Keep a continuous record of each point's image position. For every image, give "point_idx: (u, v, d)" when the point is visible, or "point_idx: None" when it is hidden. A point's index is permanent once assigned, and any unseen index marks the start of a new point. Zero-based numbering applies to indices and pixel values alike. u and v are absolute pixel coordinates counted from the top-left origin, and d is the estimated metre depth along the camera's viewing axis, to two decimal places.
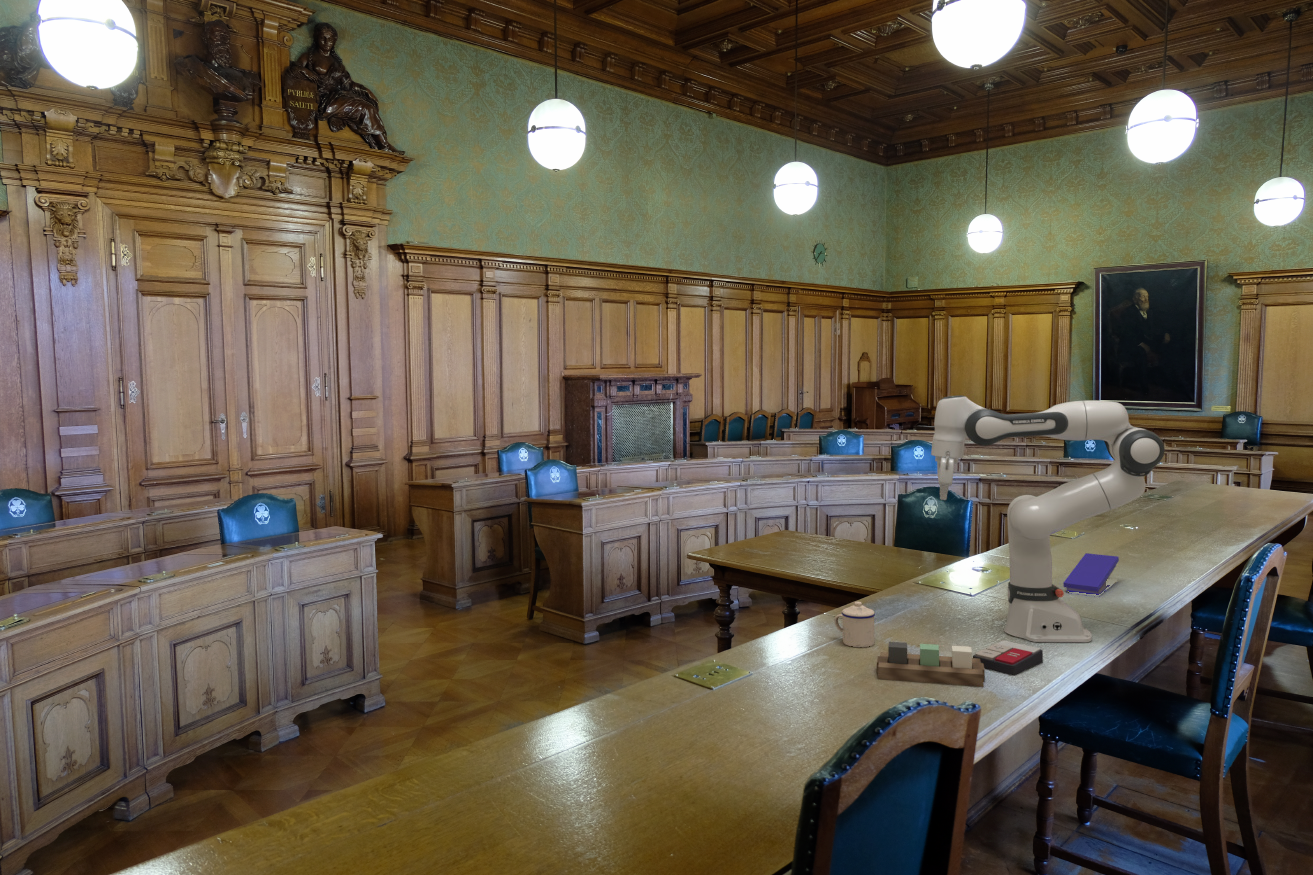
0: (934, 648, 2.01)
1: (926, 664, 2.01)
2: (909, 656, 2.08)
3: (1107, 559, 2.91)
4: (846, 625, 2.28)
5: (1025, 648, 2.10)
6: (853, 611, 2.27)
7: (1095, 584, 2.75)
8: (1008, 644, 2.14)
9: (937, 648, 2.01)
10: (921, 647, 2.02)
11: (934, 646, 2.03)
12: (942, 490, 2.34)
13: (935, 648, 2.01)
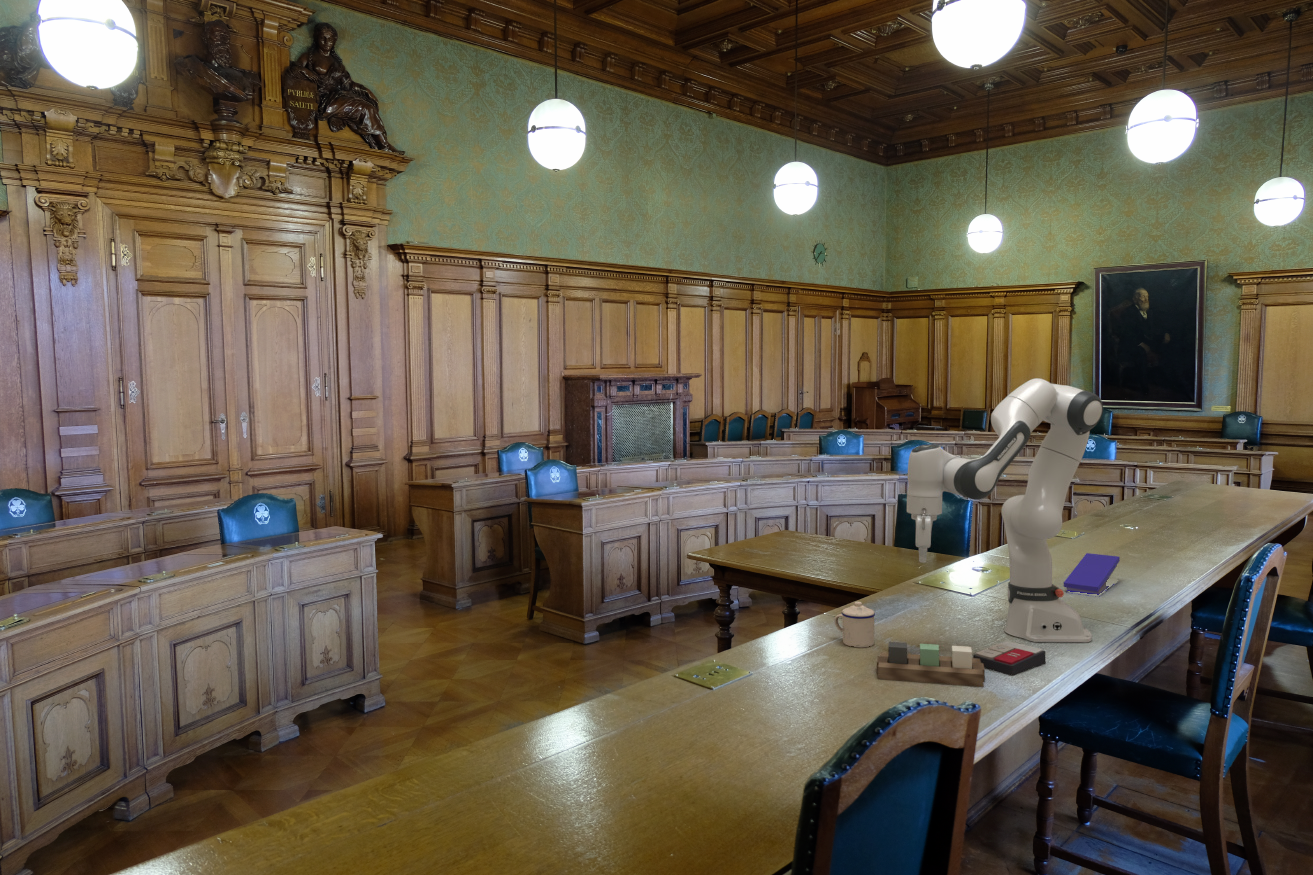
0: (934, 648, 2.01)
1: (926, 664, 2.01)
2: (909, 656, 2.08)
3: (1108, 559, 2.91)
4: (846, 625, 2.28)
5: (1027, 649, 2.10)
6: (853, 611, 2.27)
7: (1095, 584, 2.75)
8: (1011, 644, 2.14)
9: (937, 648, 2.01)
10: (921, 647, 2.02)
11: (934, 646, 2.03)
12: (920, 552, 2.11)
13: (935, 648, 2.01)
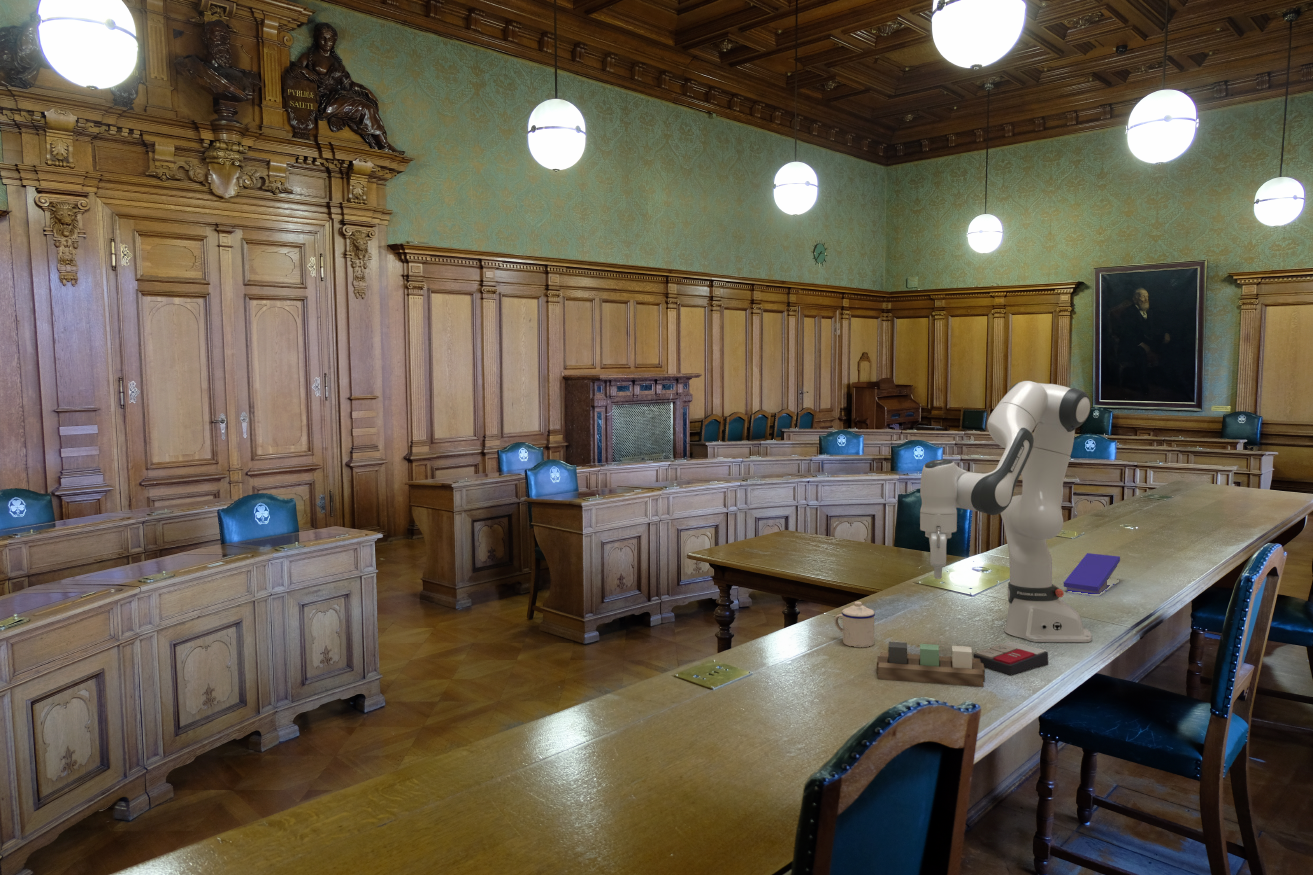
0: (934, 648, 2.01)
1: (926, 664, 2.01)
2: (909, 656, 2.08)
3: (1109, 559, 2.91)
4: (846, 625, 2.28)
5: (1030, 649, 2.09)
6: (853, 611, 2.27)
7: (1095, 584, 2.75)
8: (1014, 645, 2.13)
9: (937, 648, 2.01)
10: (921, 647, 2.02)
11: (934, 646, 2.03)
12: (936, 568, 2.07)
13: (935, 648, 2.01)
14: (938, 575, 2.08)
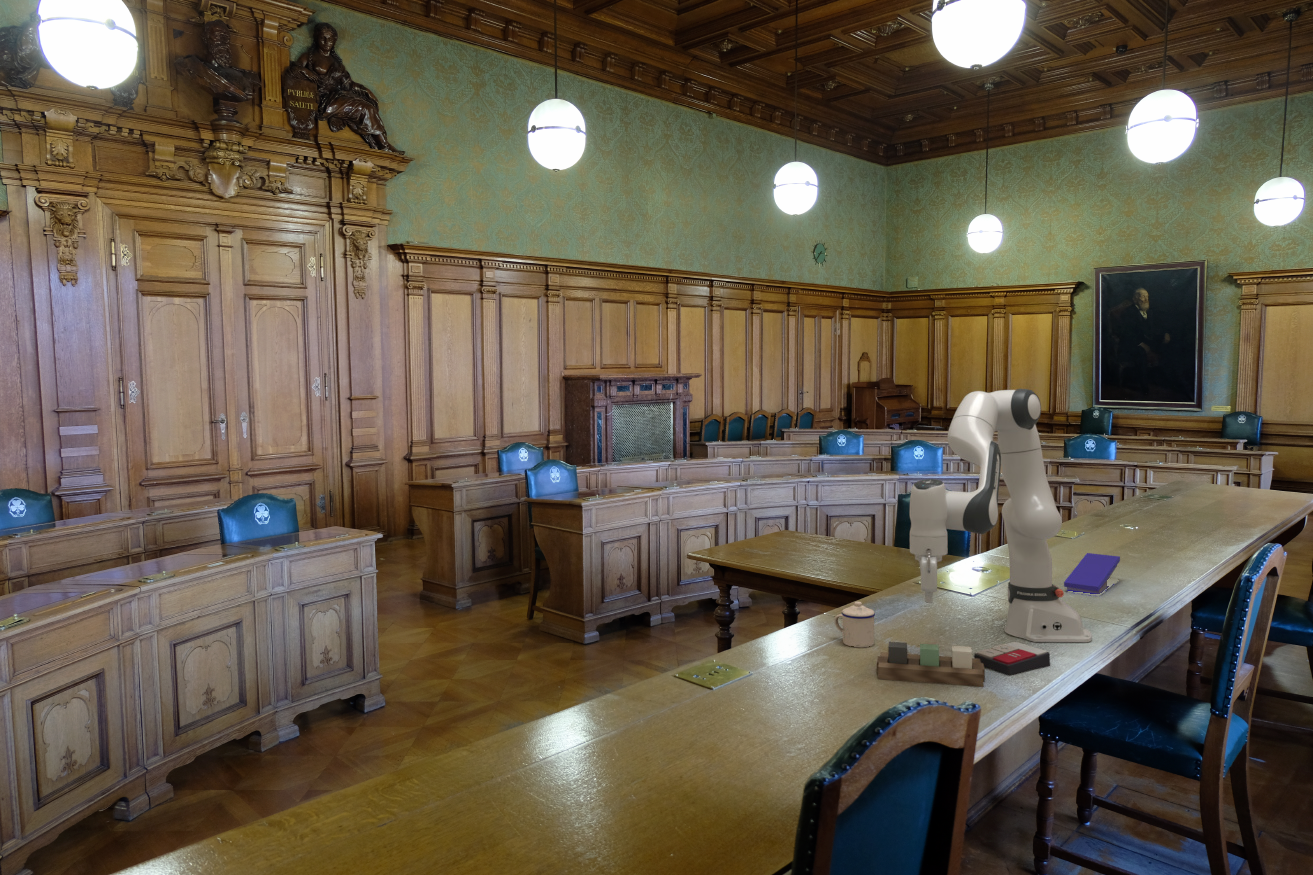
0: (934, 648, 2.01)
1: (926, 664, 2.01)
2: (909, 656, 2.08)
3: (1109, 559, 2.91)
4: (846, 625, 2.28)
5: (1031, 650, 2.09)
6: (853, 611, 2.27)
7: (1095, 584, 2.75)
8: (1016, 645, 2.13)
9: (937, 648, 2.01)
10: (921, 647, 2.02)
11: (934, 646, 2.03)
12: (926, 592, 2.00)
13: (935, 648, 2.01)
14: (929, 599, 2.01)
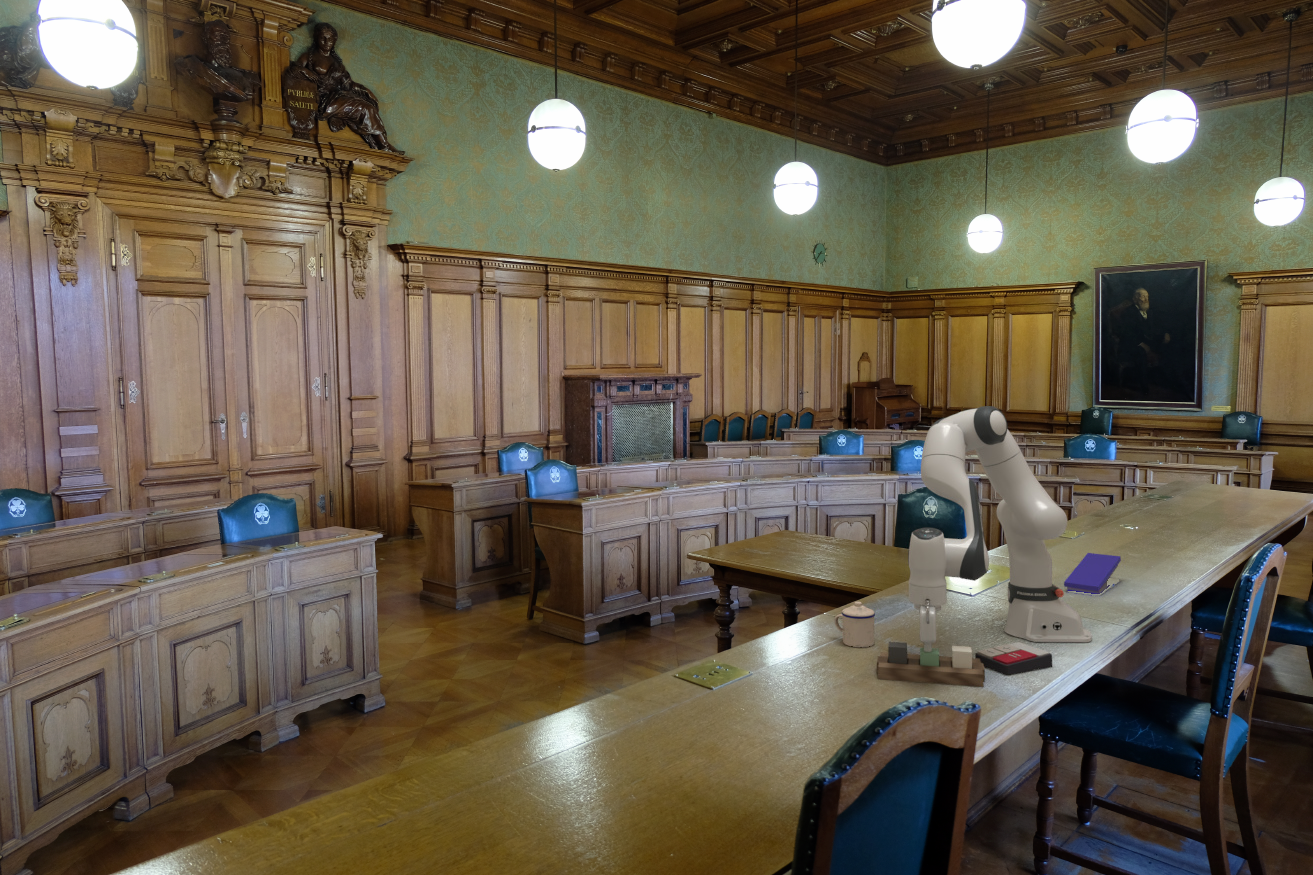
0: (934, 652, 2.01)
1: None
2: (909, 656, 2.08)
3: (1109, 559, 2.91)
4: (846, 625, 2.28)
5: (1033, 651, 2.08)
6: (853, 611, 2.27)
7: (1096, 584, 2.76)
8: (1020, 646, 2.12)
9: (937, 652, 2.01)
10: (921, 651, 2.02)
11: (934, 650, 2.03)
12: (925, 641, 2.01)
13: (935, 652, 2.01)
14: (928, 648, 2.01)
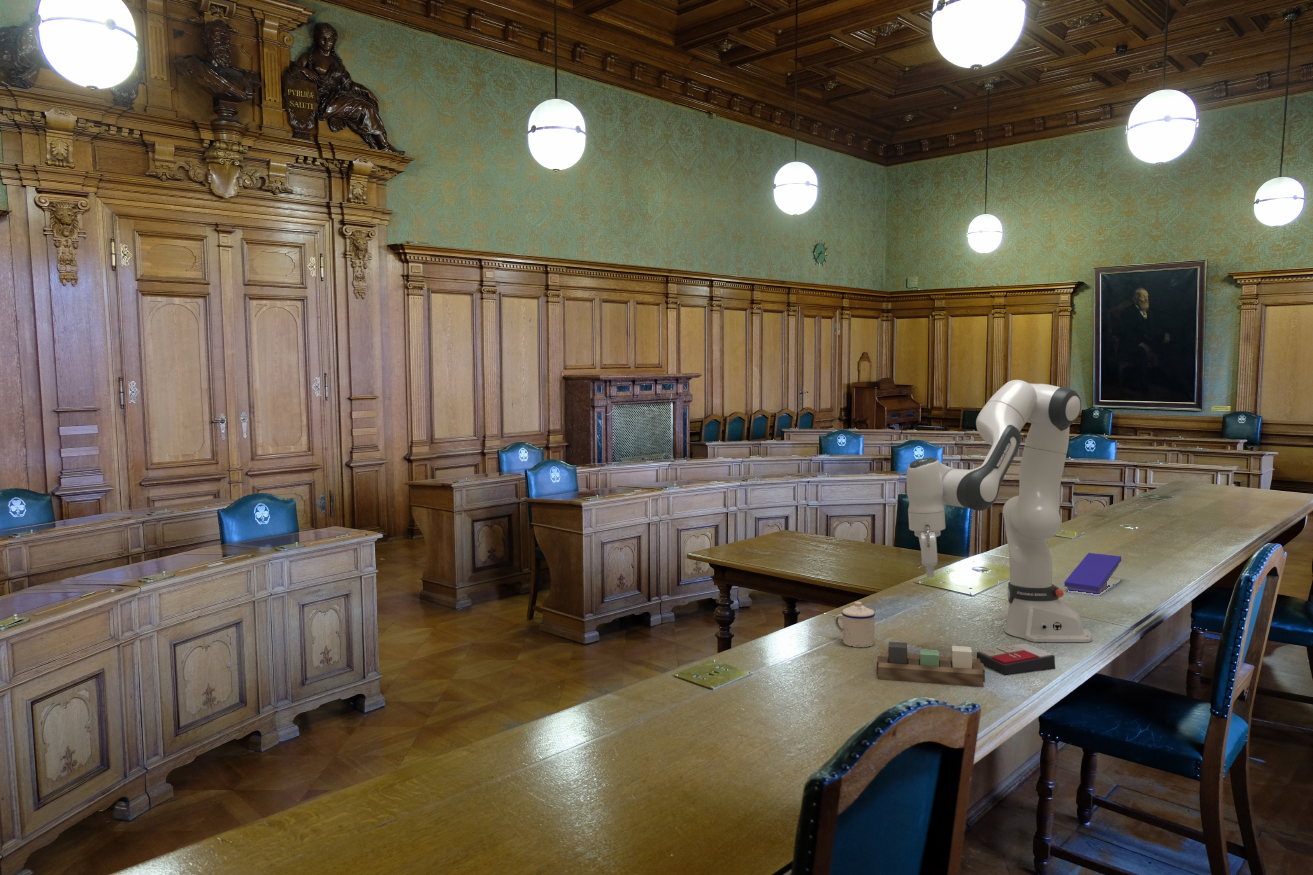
0: (934, 654, 2.01)
1: None
2: (909, 656, 2.08)
3: (1110, 559, 2.91)
4: (846, 625, 2.28)
5: (1036, 652, 2.07)
6: (853, 611, 2.27)
7: (1096, 583, 2.76)
8: (1024, 647, 2.11)
9: (937, 654, 2.01)
10: (921, 652, 2.02)
11: (934, 651, 2.03)
12: (927, 566, 2.08)
13: (935, 654, 2.01)
14: (930, 573, 2.08)
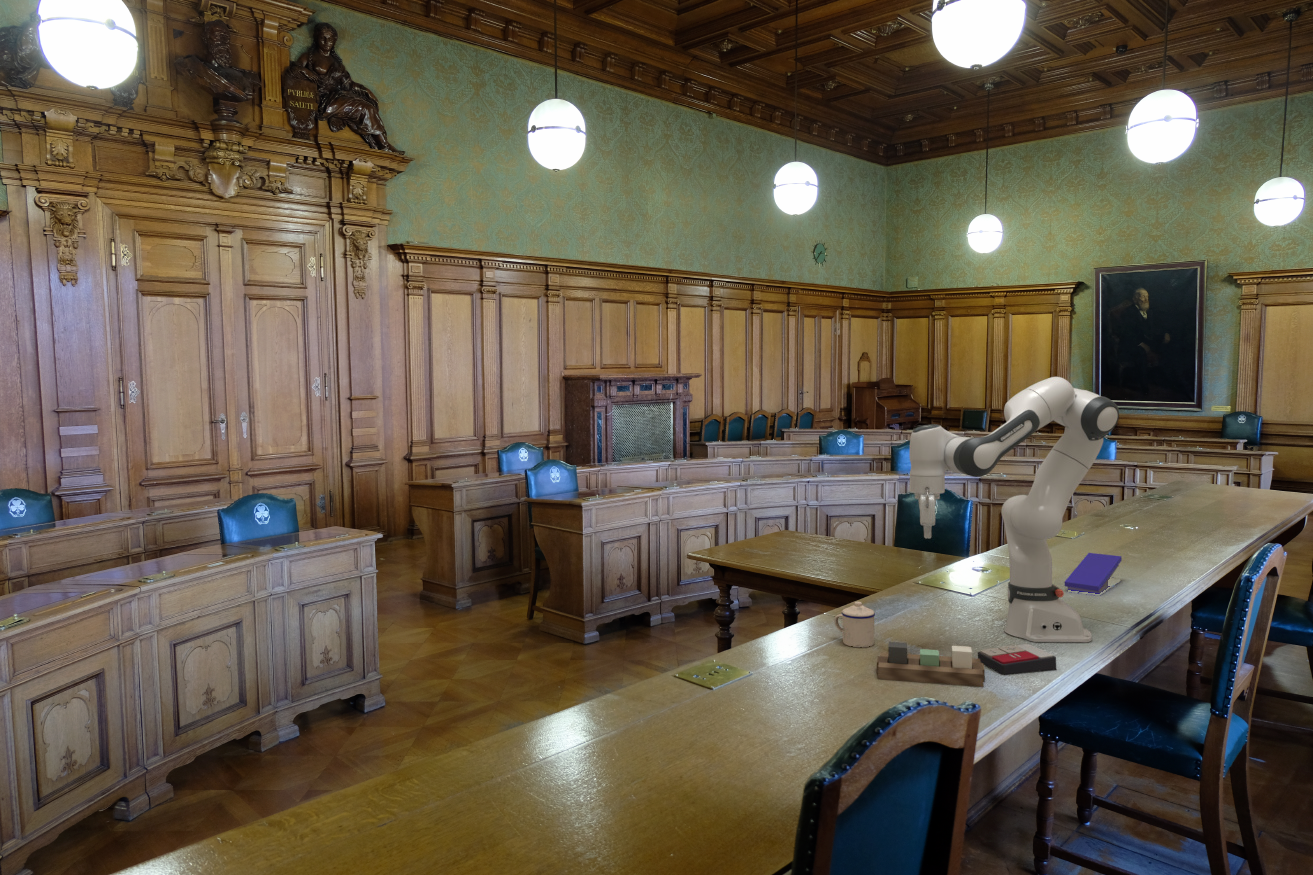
0: (934, 654, 2.01)
1: None
2: (909, 656, 2.08)
3: (1110, 559, 2.92)
4: (846, 625, 2.28)
5: (1038, 653, 2.06)
6: (853, 611, 2.27)
7: (1096, 583, 2.76)
8: (1026, 647, 2.11)
9: (937, 654, 2.01)
10: (921, 652, 2.02)
11: (934, 651, 2.03)
12: (925, 528, 2.17)
13: (935, 654, 2.01)
14: (928, 535, 2.17)
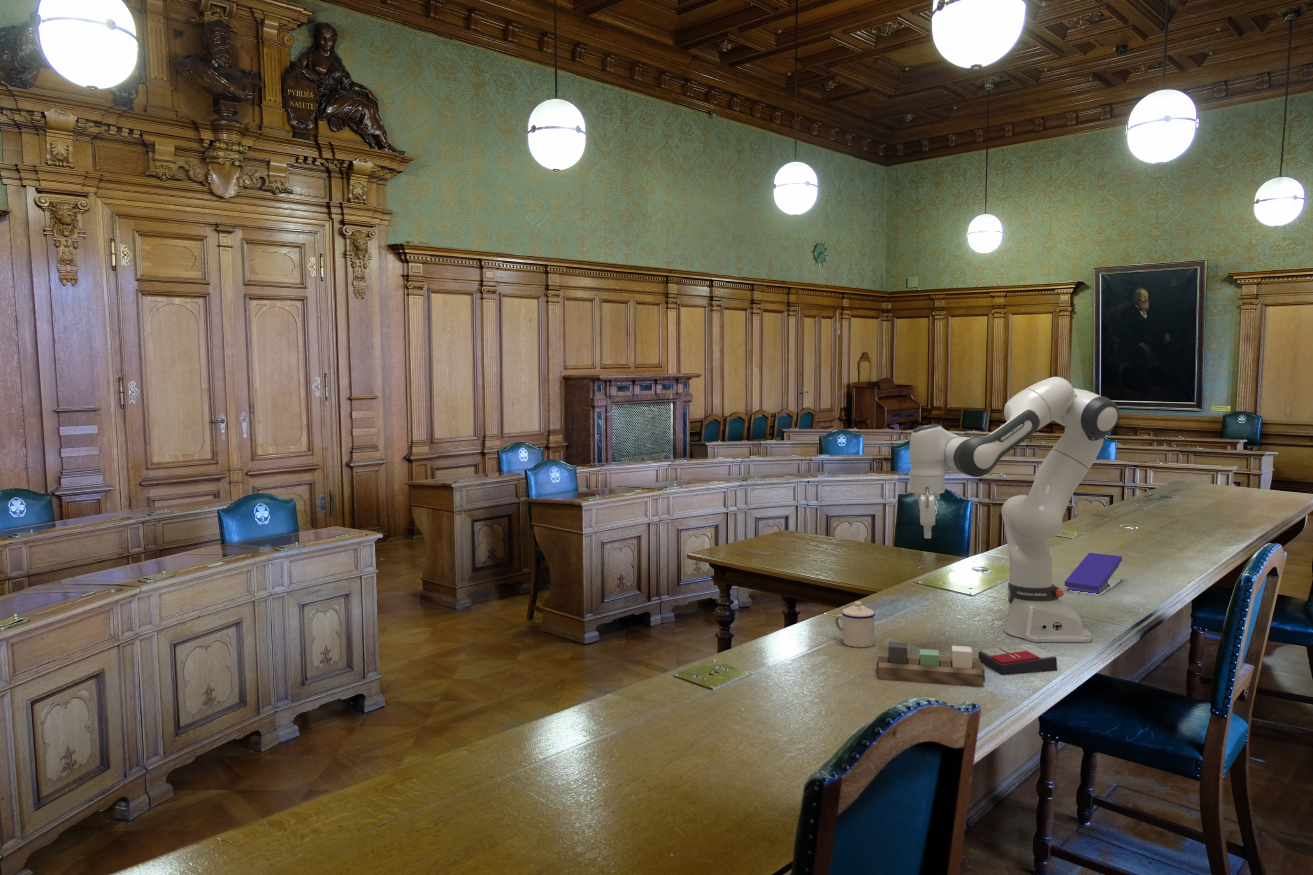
0: (934, 654, 2.01)
1: None
2: (909, 656, 2.08)
3: (1110, 558, 2.92)
4: (846, 625, 2.28)
5: (1038, 653, 2.06)
6: (853, 611, 2.27)
7: (1096, 583, 2.76)
8: (1028, 648, 2.10)
9: (937, 654, 2.01)
10: (921, 652, 2.02)
11: (934, 651, 2.03)
12: (925, 528, 2.17)
13: (935, 654, 2.01)
14: (928, 535, 2.17)
